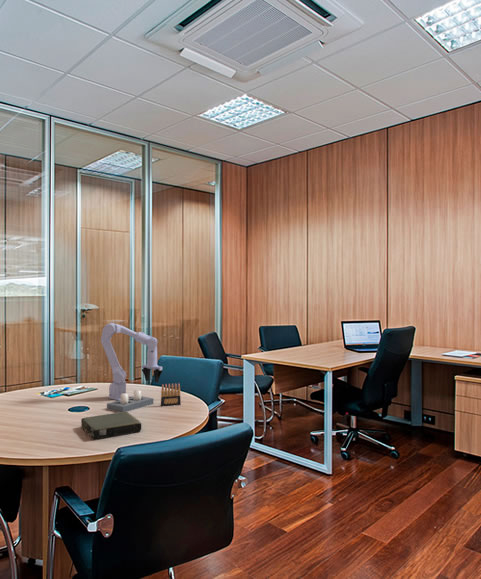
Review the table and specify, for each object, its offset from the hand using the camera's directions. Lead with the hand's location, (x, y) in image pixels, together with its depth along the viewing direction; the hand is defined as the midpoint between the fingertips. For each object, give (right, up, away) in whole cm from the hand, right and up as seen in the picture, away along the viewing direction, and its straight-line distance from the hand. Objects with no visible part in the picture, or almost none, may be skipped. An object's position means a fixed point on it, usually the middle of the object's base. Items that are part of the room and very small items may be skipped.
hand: (152, 381), depth 255 cm
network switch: (-6, -9, -61) cm, 62 cm away
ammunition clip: (+14, -10, -17) cm, 24 cm away
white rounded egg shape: (-5, -9, -16) cm, 19 cm away
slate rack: (-7, -9, -20) cm, 24 cm away
